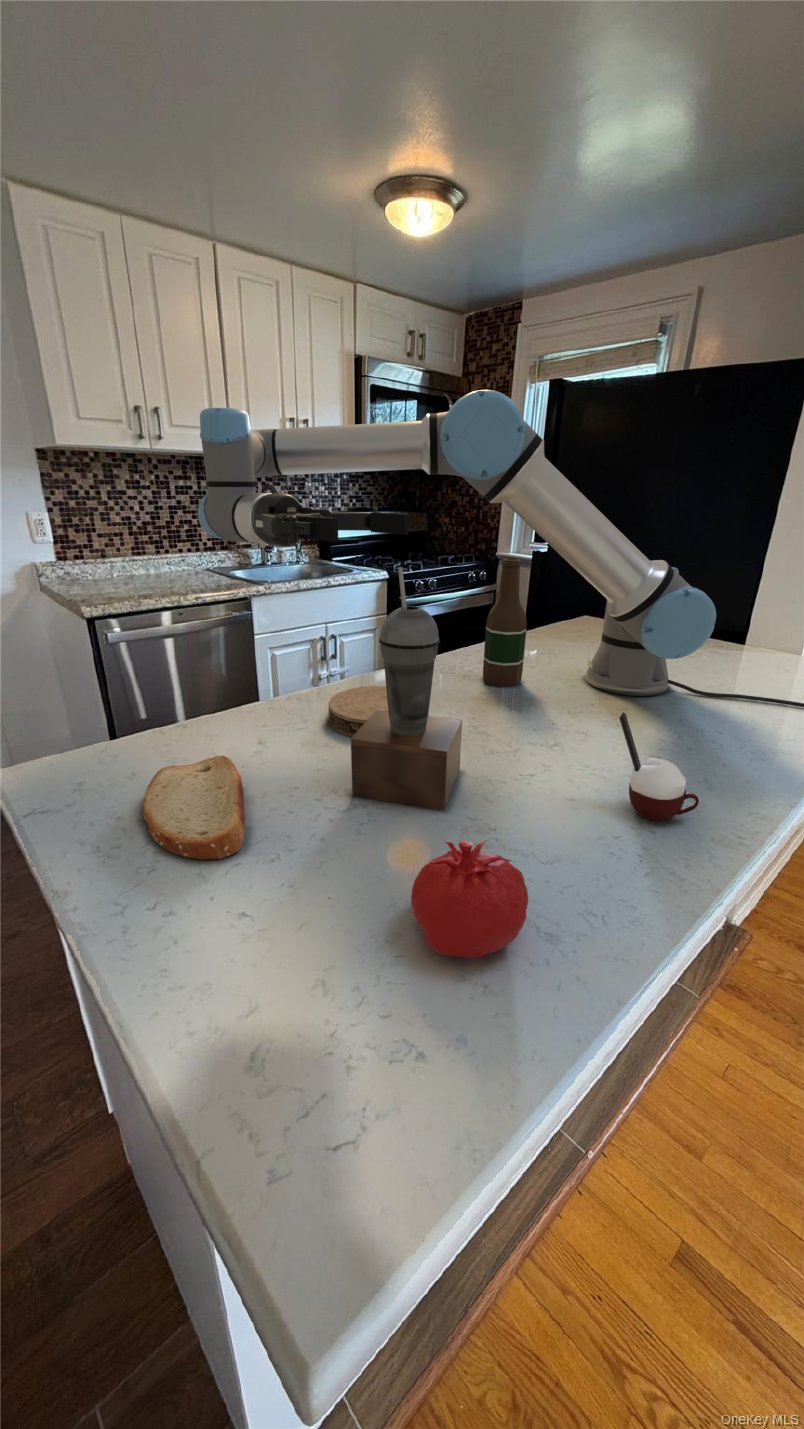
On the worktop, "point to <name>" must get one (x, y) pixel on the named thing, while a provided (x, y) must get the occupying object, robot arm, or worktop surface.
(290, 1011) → the worktop surface
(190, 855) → the bread slice
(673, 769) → the cocoa
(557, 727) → the worktop surface
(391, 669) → the beverage cup
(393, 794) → the riser
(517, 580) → the beer bottle
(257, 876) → the worktop surface
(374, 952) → the worktop surface
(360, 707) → the tan flat ringed disc
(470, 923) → the pomegranate
